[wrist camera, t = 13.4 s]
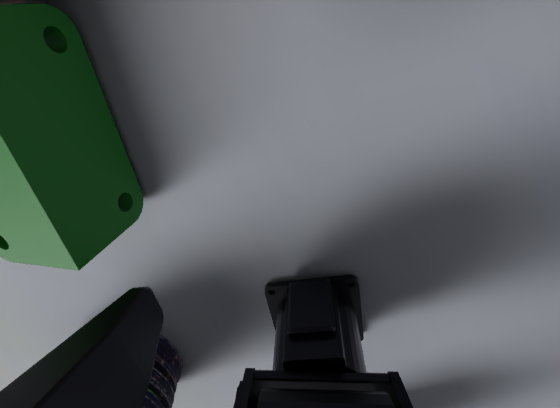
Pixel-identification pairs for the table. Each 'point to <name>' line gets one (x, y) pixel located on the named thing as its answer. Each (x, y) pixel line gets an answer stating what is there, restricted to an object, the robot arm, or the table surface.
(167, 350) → the storage jar
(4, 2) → the socket board
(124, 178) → the clamp
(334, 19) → the table surface
